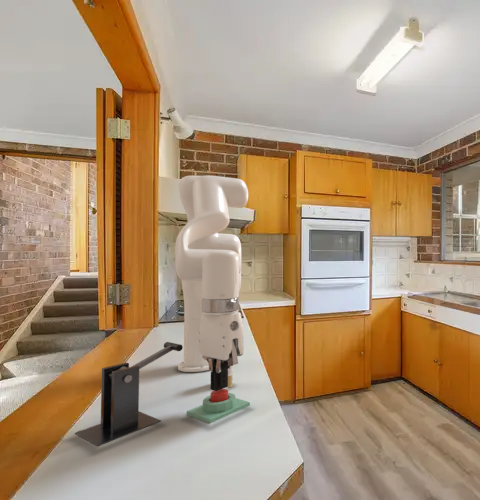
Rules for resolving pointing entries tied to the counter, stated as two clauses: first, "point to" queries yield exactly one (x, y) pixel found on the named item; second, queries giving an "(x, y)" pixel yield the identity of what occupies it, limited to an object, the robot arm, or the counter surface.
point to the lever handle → (155, 356)
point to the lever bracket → (118, 406)
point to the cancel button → (219, 395)
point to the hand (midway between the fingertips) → (219, 388)
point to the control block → (217, 408)
